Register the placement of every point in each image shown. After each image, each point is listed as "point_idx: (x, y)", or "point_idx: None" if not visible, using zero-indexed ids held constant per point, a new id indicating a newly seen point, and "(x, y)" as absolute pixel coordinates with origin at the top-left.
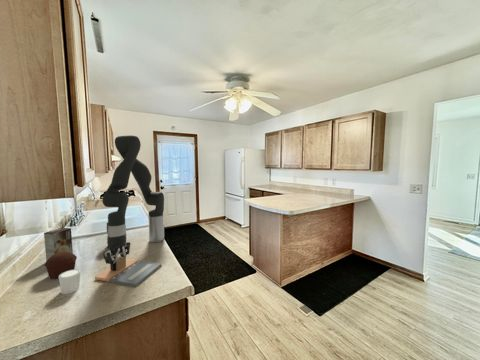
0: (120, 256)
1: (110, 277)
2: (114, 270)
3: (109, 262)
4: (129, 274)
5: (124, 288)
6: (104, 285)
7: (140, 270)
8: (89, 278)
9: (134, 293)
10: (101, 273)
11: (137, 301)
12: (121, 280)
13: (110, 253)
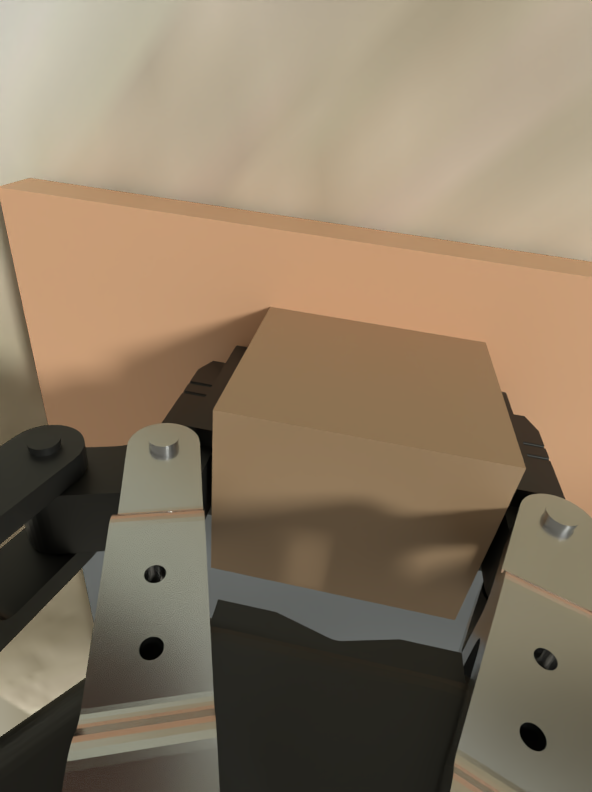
0: (502, 512)
1: (87, 441)
2: None
3: (12, 550)
4: (223, 589)
5: (64, 590)
6: (11, 409)
7: None
8: (16, 7)
9: (51, 659)
10: (118, 224)
11: (4, 687)
12: (98, 567)
13: (97, 628)
